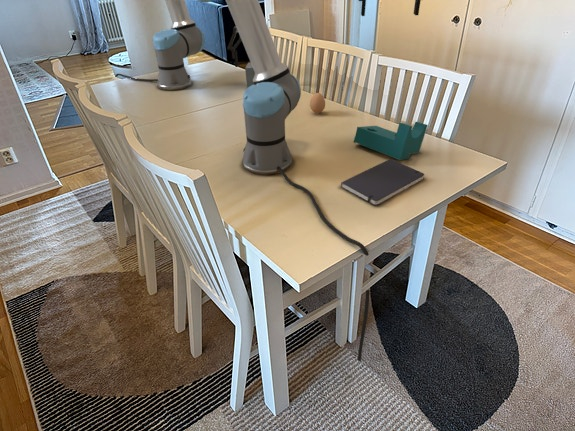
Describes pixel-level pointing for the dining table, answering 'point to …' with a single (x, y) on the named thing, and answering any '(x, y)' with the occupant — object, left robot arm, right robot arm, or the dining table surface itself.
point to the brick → (249, 75)
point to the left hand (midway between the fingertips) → (251, 66)
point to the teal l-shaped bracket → (392, 139)
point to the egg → (317, 103)
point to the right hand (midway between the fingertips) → (389, 15)
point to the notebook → (382, 181)
